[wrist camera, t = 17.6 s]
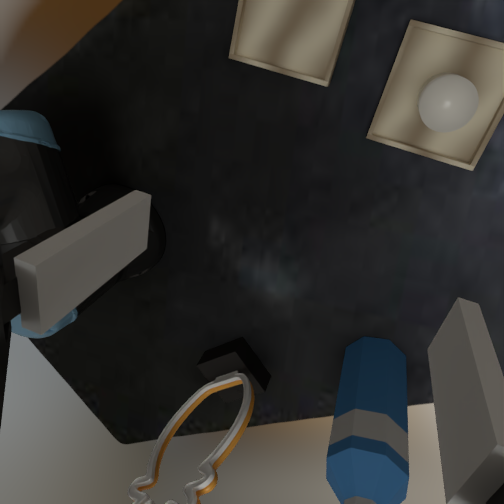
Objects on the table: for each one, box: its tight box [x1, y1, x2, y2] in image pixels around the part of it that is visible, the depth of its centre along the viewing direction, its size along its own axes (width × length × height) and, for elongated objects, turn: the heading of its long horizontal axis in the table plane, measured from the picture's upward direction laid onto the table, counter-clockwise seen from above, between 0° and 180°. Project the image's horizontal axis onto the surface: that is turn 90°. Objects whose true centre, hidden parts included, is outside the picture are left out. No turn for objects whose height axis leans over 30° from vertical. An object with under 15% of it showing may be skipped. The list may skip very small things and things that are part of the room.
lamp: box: [128, 337, 271, 504], centre depth 57 cm, size 17×9×32 cm, turn 125°
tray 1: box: [229, 0, 355, 87], centre depth 43 cm, size 12×12×2 cm
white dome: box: [417, 72, 479, 132], centre depth 40 cm, size 5×5×6 cm
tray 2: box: [366, 20, 504, 171], centre depth 42 cm, size 12×12×2 cm
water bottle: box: [326, 336, 409, 504], centre depth 50 cm, size 9×9×25 cm
